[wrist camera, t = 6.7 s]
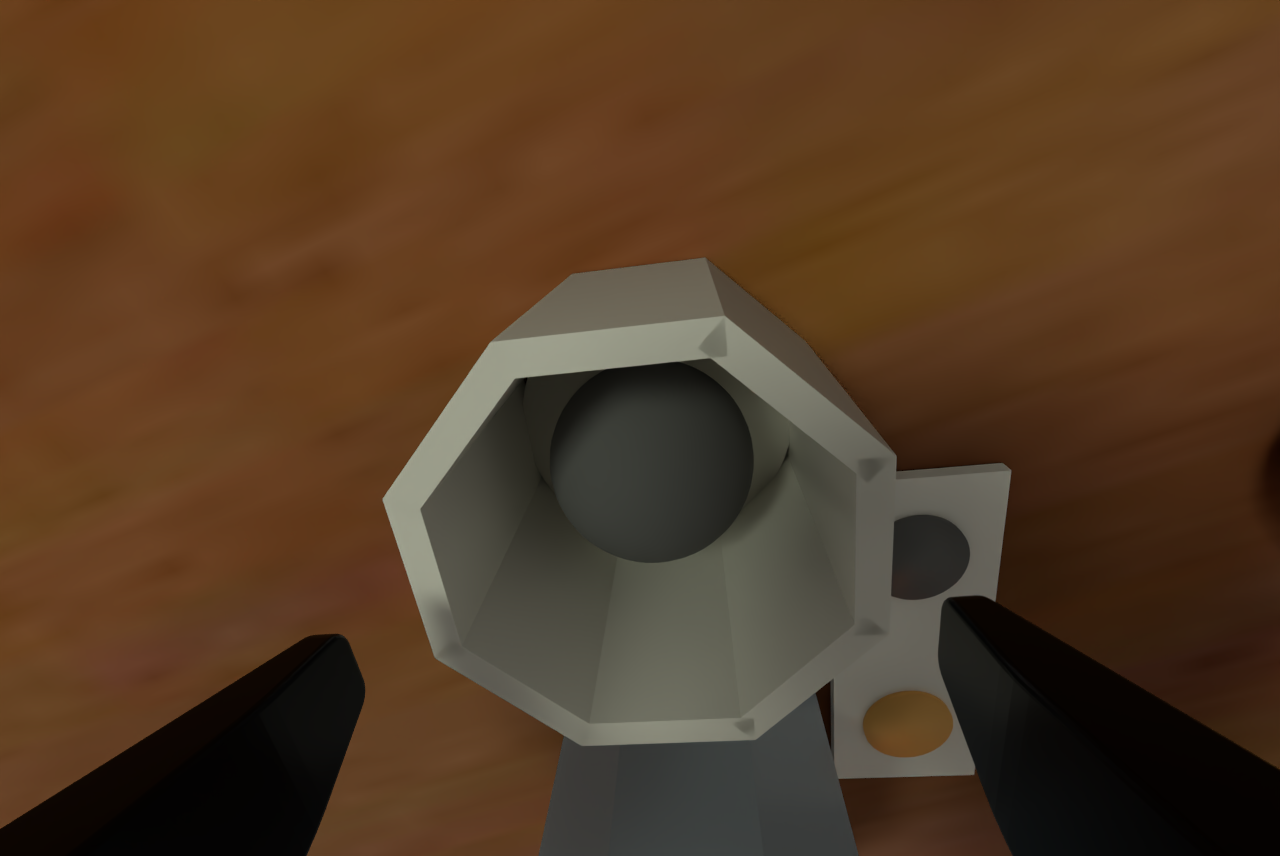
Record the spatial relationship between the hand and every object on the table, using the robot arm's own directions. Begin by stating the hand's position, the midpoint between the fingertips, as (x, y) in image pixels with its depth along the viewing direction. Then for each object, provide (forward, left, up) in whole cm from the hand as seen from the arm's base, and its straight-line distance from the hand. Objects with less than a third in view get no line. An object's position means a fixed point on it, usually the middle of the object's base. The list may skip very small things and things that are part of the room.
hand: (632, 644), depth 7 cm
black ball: (0, 0, -5) cm, 5 cm away
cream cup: (0, 0, -8) cm, 8 cm away
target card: (-7, -6, -8) cm, 12 cm away
